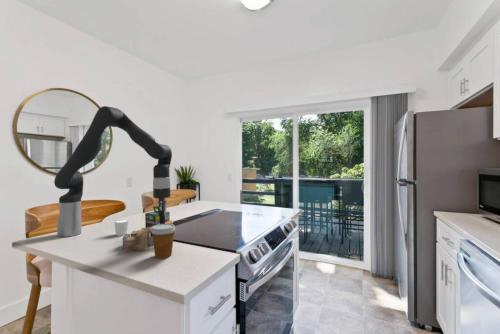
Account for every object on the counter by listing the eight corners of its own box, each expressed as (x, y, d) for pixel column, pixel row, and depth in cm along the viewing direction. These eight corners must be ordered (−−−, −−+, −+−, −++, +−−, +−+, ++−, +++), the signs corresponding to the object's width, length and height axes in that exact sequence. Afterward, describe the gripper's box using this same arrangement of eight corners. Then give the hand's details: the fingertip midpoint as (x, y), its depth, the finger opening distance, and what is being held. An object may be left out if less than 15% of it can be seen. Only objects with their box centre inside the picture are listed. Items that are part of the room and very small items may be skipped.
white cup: (123, 236, 121) (123, 223, 121) (111, 235, 122) (111, 222, 122) (132, 232, 128) (132, 220, 128) (121, 232, 129) (121, 219, 129)
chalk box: (170, 233, 128) (170, 205, 128) (155, 237, 120) (155, 208, 120) (159, 230, 133) (159, 204, 133) (144, 234, 125) (144, 206, 125)
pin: (122, 249, 104) (122, 237, 104) (125, 244, 109) (125, 234, 109) (154, 246, 108) (154, 235, 108) (155, 242, 113) (155, 231, 113)
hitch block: (124, 252, 100) (124, 237, 100) (132, 241, 114) (132, 228, 114) (145, 250, 102) (145, 236, 102) (150, 239, 116) (150, 227, 116)
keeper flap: (148, 233, 107) (147, 230, 106) (150, 230, 111) (149, 227, 111) (172, 224, 109) (171, 221, 109) (173, 222, 114) (172, 219, 114)
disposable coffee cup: (161, 262, 90) (161, 230, 90) (145, 256, 95) (145, 227, 95) (180, 254, 98) (180, 225, 98) (165, 249, 103) (165, 222, 103)
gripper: (155, 186, 116) (155, 221, 116) (150, 188, 103) (151, 228, 103) (171, 185, 118) (171, 220, 118) (169, 188, 105) (169, 227, 105)
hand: (162, 224), depth 110 cm, fingers closed
